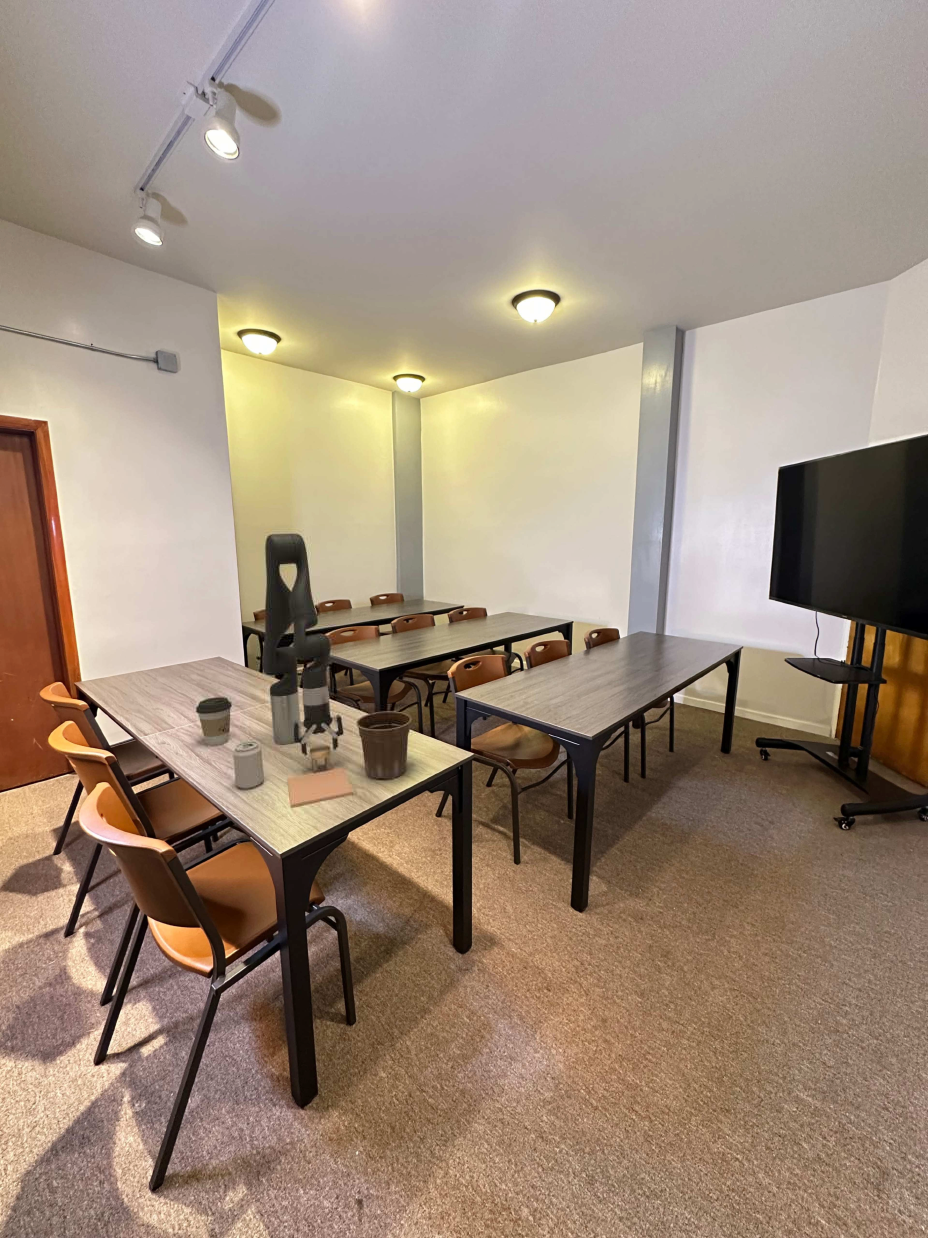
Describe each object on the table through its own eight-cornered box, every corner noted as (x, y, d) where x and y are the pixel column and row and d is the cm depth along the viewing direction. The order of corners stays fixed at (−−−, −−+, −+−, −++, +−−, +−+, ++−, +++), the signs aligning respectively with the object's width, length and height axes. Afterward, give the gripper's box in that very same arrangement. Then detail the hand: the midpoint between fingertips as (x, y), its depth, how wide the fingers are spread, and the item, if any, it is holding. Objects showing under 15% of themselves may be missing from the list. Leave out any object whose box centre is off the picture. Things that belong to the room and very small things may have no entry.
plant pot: (388, 754, 158) (386, 707, 156) (424, 768, 148) (422, 717, 146) (348, 773, 146) (345, 722, 143) (384, 789, 136) (381, 734, 133)
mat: (287, 781, 142) (287, 778, 142) (343, 770, 148) (343, 767, 148) (291, 807, 127) (291, 805, 127) (352, 794, 133) (352, 791, 133)
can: (268, 777, 144) (264, 739, 143) (258, 789, 137) (254, 749, 135) (242, 778, 144) (239, 739, 142) (231, 790, 137) (227, 750, 135)
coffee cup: (220, 749, 165) (216, 707, 163) (191, 747, 168) (187, 705, 165) (242, 736, 176) (238, 696, 174) (214, 734, 179) (210, 695, 176)
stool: (310, 766, 151) (308, 747, 150) (329, 762, 153) (328, 743, 152) (312, 774, 145) (310, 754, 144) (332, 770, 148) (331, 750, 147)
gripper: (338, 693, 152) (341, 743, 154) (290, 700, 146) (294, 751, 149) (342, 700, 145) (345, 752, 147) (292, 707, 140) (296, 761, 142)
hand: (320, 751), depth 148 cm, fingers open, 8 cm apart
